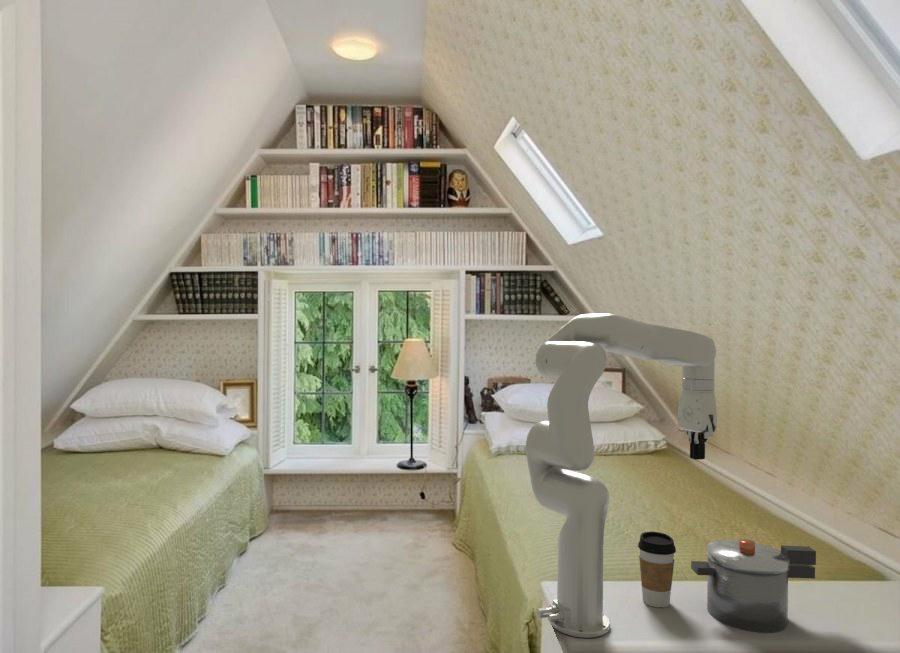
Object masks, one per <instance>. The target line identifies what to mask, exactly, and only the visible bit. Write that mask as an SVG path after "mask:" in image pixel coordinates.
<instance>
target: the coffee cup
mask: <svg viewBox="0 0 900 653" xmlns="http://www.w3.org/2000/svg"><path fill="white" fill-rule="evenodd" d="M637 548H638V549H639V556H638V557H639V566H640V568H639V570H640V581H641V594H642V601H643V603H644V602H645V603H644V604H646V605H647V604H648V606H650V605H651V606H650V607H653V606H654V608H659V607H663V608H667V607H669V606H670V603H671V596H672V594H671V593H672V592H671V591H672V584H673V576H674V575H673V574H674V566H675V559H674V557H675V554H676V552H677V549H676V548H677V547H676V546H675V540H674V539H673V537H671V536H670V535H668V534H666V533H664V532H660V531H644V532H642V533H640V537H639V541H638V544H637Z"/></svg>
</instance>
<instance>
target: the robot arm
mask: <svg viewBox="0 0 900 653" xmlns="http://www.w3.org/2000/svg"><path fill="white" fill-rule="evenodd" d="M715 344H716V343H715V341H714V340H713V338H711V337H709V336H707V335H705V334H701V333H698V332H694V331H690V330H685V329H681V328H673V327H668V326H663V325H659V324H658V325H657V324H651V323H647V322H643V321H641V320H635V319H632V318H629V317H625V316H624V315H623V316H622V315H619V314H613V313H584V314H579V315H577V316H575V317H573V318H572V319H570V320H568V322H566V323H565V324H564V325H563V326H561V327H560V328H559V329H558V330H557V331H555V332H554V333H553V334H552V335H551V336H549V337H548V338H547V339H546V340H545V341H544V342H543V343H542V344H541V345H540V346H539V348H538V349H537V352H536V354H535V365H536V368H537V370H538V372H539V373H540V374H541V375H542V376H544V377H546V378H547V379H549V380H556V381H555V383H554V385H553V386H552V388H551V390H550V392H549V394H548V397H547V404H546V406H547V407H546V408H547V419H548V420H541V421H538V422H537V423H535V424H533V426H531V428H530V429H529V431H528V433H527V436H526V441H525V453H526V459H527V465H528V466H527V467H528V470H529V476H530V477H529V478H530V484H531V487H532V489H531V490H532V493H533V496H534V498H535V500H536V501H537V503H538V505H539V506H541V507H542V508H545V509H547V510H549V511H552V512H555V513H558V514H560V515H562V516H565V522H564V524H563V525H562V527H561V529H560V530H559V534H558V537H557V586H556V587H557V588H556V589H557V591H556V593H557V597H556V599H553V600H552V604H550V605H549V606H548V607H541V608H539V607H538V608H536V610H535V611H536V612H535V614H536V618H538V619H539V620H541V619H546V618H547V620H548V622H550V625H551V626H552V627H553V628H554V629H555V630H557V631H558V632H560V633H563V634H565V635H568V636H571V637H575V638H583V639H584V638H585V639H586V638H591V639H592V638H598V637H602V636H603V635H606V634H607V633H608V632H609V631H610V629H611V621H610V619H609V617H608V616H607V615H606V614H604V612H603V611H604V606H603V605H604V544H605V543H604V540H605V539H604V538H605V527H606V520H607V515H608V510H609V507H610V495H609V490H608V488H607V487H606V485H605V484H604V483H603V482H602V481H601V480H599V479H598V478H596V477H594V476H592V475H589V474H585V473H582V472H584V471H586V470H589V468H590V467H591V466H592V465H593V463H594V460H595V445H594V439H593V432H592V426H591V421H590V410H589V401H590V400H589V399H590V397H591V396H590V395H591V393H592V391H593V389H594V387H595V385H596V384H597V382H598V381H599V379H600V378H601V376H602V375H603V374H604V371H605V370H606V366H607V354H606V352H607V353H612V354H616V355H621V356H624V357H629V358H633V359H637V360H643V361H644V360H646V361H655V362H656V361H658V362H659V363H661V364H663V365H665V366H671V367H682V370H681V371H682V373H681V374H682V376H681V378H682V380H681V390H680V393H679V399H678V408H677V426H678V428H680V429H682V431H683V433H685V434H686V435H687V438H688V443H689V458H690V459H692V460H695V461H696V460H705V459H706V444H707V443H708V439H714V432H716V431H717V425H718V423H717V422H718V419H717V417H718V416H717V414H718V413H717V400H716V396H715V362H716V361H715V360H716V356H717V347H716V345H715Z"/></svg>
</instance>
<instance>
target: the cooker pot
mask: <svg viewBox="0 0 900 653" xmlns="http://www.w3.org/2000/svg"><path fill="white" fill-rule="evenodd" d="M690 568H691V570H692V571H693V572H694V573H695V574H696V575H697V576H707V579H706V580H707V581H706V583H707V588H706V589H707V590H706V591H707V596H706V597H707V598H706V599H707V600H706V608H707V611H708V612H707V613H709V615H710V616H712V617H713V618H714V619H715V618H716V620H717V619H718V620H717V621H719V622H721V623H722V622H723V623H722V624H725V625H727V626H730V627H733V628H735V629H740V630H744V631H748V632H753V633H764V634H765V633H767V634H768V633H778V632H782V631H783V630H785V629H786V628H788V626H789V624H788V623H789V622H788V621H789V619H788V618H789V617H788V616H789V610H788V608H789V579H816V567H815V566H814V565H802V564H790V568H789V570H788V571H786V572H784V573H780V574H754V573H747V572H742V571H737V570H734V569H730V568H727V567H724V566H721V565H719V564H717V563H715V562H713V561H712V560H710V559H709V558H708V557H707V561H703V560H701V561H700V560H698V561H697V560H690Z"/></svg>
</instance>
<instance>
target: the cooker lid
mask: <svg viewBox="0 0 900 653" xmlns="http://www.w3.org/2000/svg"><path fill="white" fill-rule="evenodd" d="M705 547H706V549H705V550H706V551H705V553H706V557H707V559H708V558H709V559H710V560H712V561H713V562H715V563H717V564H719V565H721V566H724V567H727V568H730V569H734V570H737V571H742V572H747V573H754V574H780V573H784V572H786V571H788V570H789V568H790V564H802V565H812V566H816V565H817V551H816V550H815V549H813V548H812V547H810V546H803V545H802V546H801V545H783V544H780V550H779V549H777V548H775V547H772V546H768V545H764V544H761V543H757V542H755V541H754V540H750V539H747V538H742V539H741V538H740V539H739V540H737V539H720V540H714V541H711V542H710V541H709V543H707V544H706V546H705Z"/></svg>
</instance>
